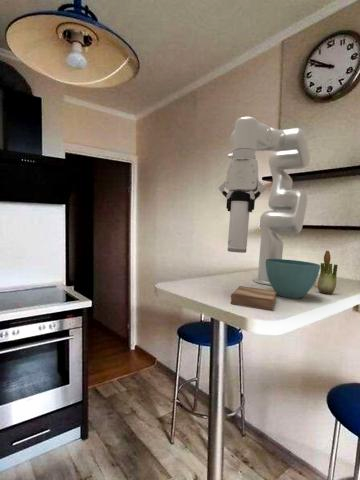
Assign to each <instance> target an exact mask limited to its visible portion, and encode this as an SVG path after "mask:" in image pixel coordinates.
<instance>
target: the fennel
mask: <svg viewBox="0 0 360 480" xmlns="http://www.w3.org/2000/svg"><path fill="white" fill-rule="evenodd" d="M331 258H332V257H331V253H330V251H329V250H326V251H325V253H324V255H323V261H324V262H323V263H324V265H325V263H328V267H329V263H330V264H331ZM314 286H315V287H316V288H318V281H317V283H316V282H315V283H314ZM335 288H336V287H335ZM336 289H337V288H336Z"/></svg>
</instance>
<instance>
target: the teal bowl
mask: <svg viewBox="0 0 360 480" xmlns="http://www.w3.org/2000/svg"><path fill="white" fill-rule="evenodd" d="M266 271H267V275H268V279H269V281H270V283H271V285H270V286H271V287H272V288H273V291H276V295H278V296H281V297H285V298H290V299H301V298H303V297H305V296H306V295H307V293H308V292H309V291H310V290H311V289H312V288H313V287H314V286H315V284H316V281H317V279H318V278H319V277H318V276H319V275H320V271H321V264H319V263H315V262H311V261H310V262H309V261H303V260H296V259H284V258H282V259H266Z"/></svg>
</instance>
